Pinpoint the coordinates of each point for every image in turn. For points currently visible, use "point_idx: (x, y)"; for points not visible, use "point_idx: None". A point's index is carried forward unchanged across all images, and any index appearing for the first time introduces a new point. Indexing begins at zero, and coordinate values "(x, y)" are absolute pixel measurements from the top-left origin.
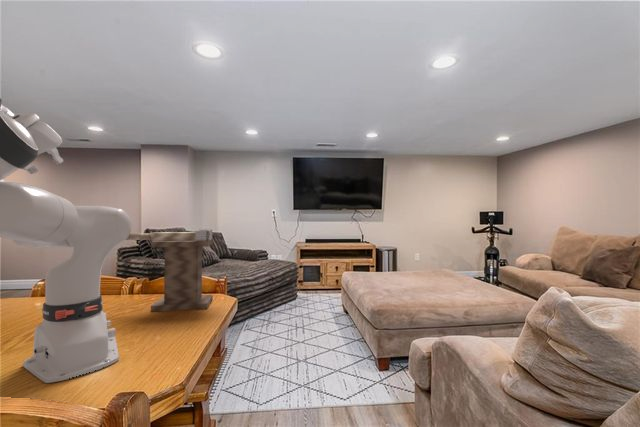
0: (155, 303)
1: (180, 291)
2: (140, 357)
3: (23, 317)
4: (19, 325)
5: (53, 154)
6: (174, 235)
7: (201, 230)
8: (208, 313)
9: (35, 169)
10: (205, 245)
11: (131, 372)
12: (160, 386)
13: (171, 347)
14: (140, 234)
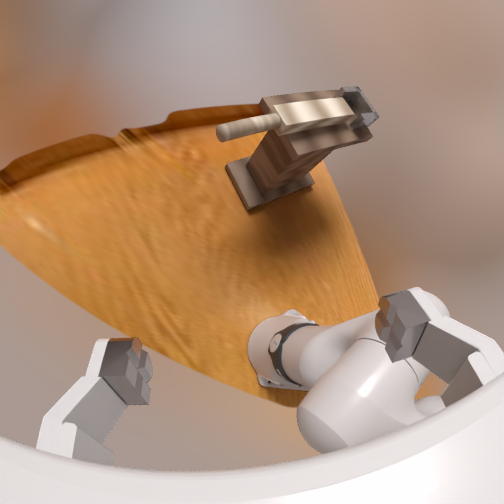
0: (246, 195)
1: (287, 179)
2: None
3: (76, 280)
4: (109, 308)
5: (454, 374)
6: (323, 121)
7: (367, 113)
8: (323, 201)
9: (137, 359)
10: (366, 140)
11: None
12: None
13: (353, 300)
14: (257, 126)
